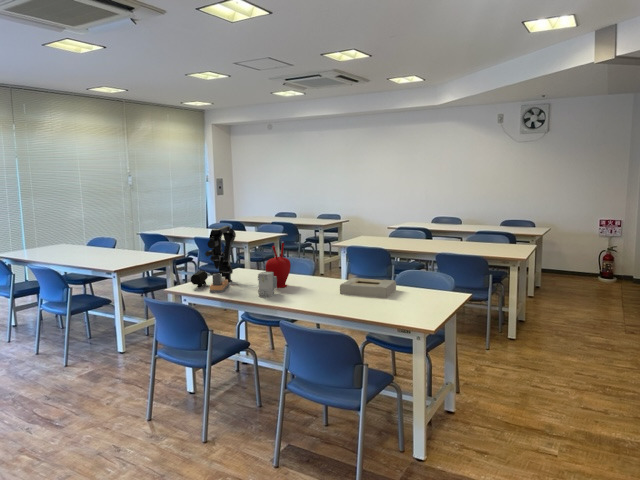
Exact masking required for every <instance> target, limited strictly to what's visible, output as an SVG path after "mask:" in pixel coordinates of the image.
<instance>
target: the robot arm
mask: <svg viewBox="0 0 640 480" xmlns="http://www.w3.org/2000/svg"><path fill="white" fill-rule="evenodd" d="M222 236H223V239H224V241H225V242H224V243H225V244H224V249H223V247H222ZM236 237H237V234H236V232H235V230H234V229H233V228H231V226H230V225H222V226H221V227H219V228H212V229H211V230H210V233H209V238H208V239H209V240H208V241H207V245H206V246H208V248H209V249H211V250H206V251H205V253H204V255H205V256H206V258H208V257H209V256H210V261H211V262H213V264H214V267H215V270H218V272H219V273H218V274H221V276H222V277H225V280H228V283H230V282H233V280H232V278H231V277H232V274H233V273H234V271H233V268H232V263H230V257H231V252H232V251H231V250H232V244H233V242H234V241H235V239H236Z"/></svg>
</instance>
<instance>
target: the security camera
mask: <svg viewBox="0 0 640 480" xmlns="http://www.w3.org/2000/svg"><path fill="white" fill-rule="evenodd" d="M206 280H208V272H207V271H206V270H198V271H197V272H195V273H194V274H192V275H191V276H190V283H191V284H192V285H193V286H194V285H195V286H196V287H197V288H201V287H203V285H207V281H206Z"/></svg>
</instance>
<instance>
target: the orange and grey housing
mask: <svg viewBox="0 0 640 480" xmlns="http://www.w3.org/2000/svg"><path fill="white" fill-rule="evenodd" d="M229 286H230V282H228V280H225V277H222V285H217V286H213V282H212V283H211V284H210V285H209V293H211V294H212V293H224V291H226V290H227V288H228V287H229Z"/></svg>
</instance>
